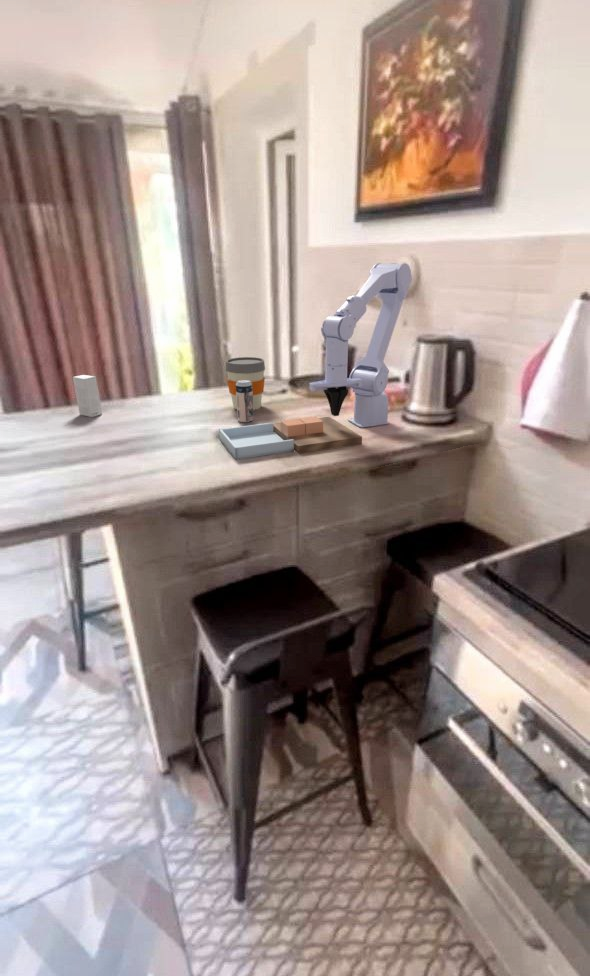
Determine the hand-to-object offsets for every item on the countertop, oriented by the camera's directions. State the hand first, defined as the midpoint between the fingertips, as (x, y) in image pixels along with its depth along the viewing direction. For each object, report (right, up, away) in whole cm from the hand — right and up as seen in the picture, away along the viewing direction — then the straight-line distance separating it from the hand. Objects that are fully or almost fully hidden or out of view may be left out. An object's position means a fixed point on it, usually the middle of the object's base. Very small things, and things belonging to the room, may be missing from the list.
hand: (335, 414), depth 139 cm
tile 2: (-7, -4, -1) cm, 8 cm away
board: (-6, -6, 0) cm, 8 cm away
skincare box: (-75, +3, +23) cm, 79 cm away
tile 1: (-11, -5, -3) cm, 13 cm away
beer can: (-26, 0, +15) cm, 30 cm away
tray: (-21, -9, -5) cm, 24 cm away
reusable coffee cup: (-27, +7, +29) cm, 40 cm away
